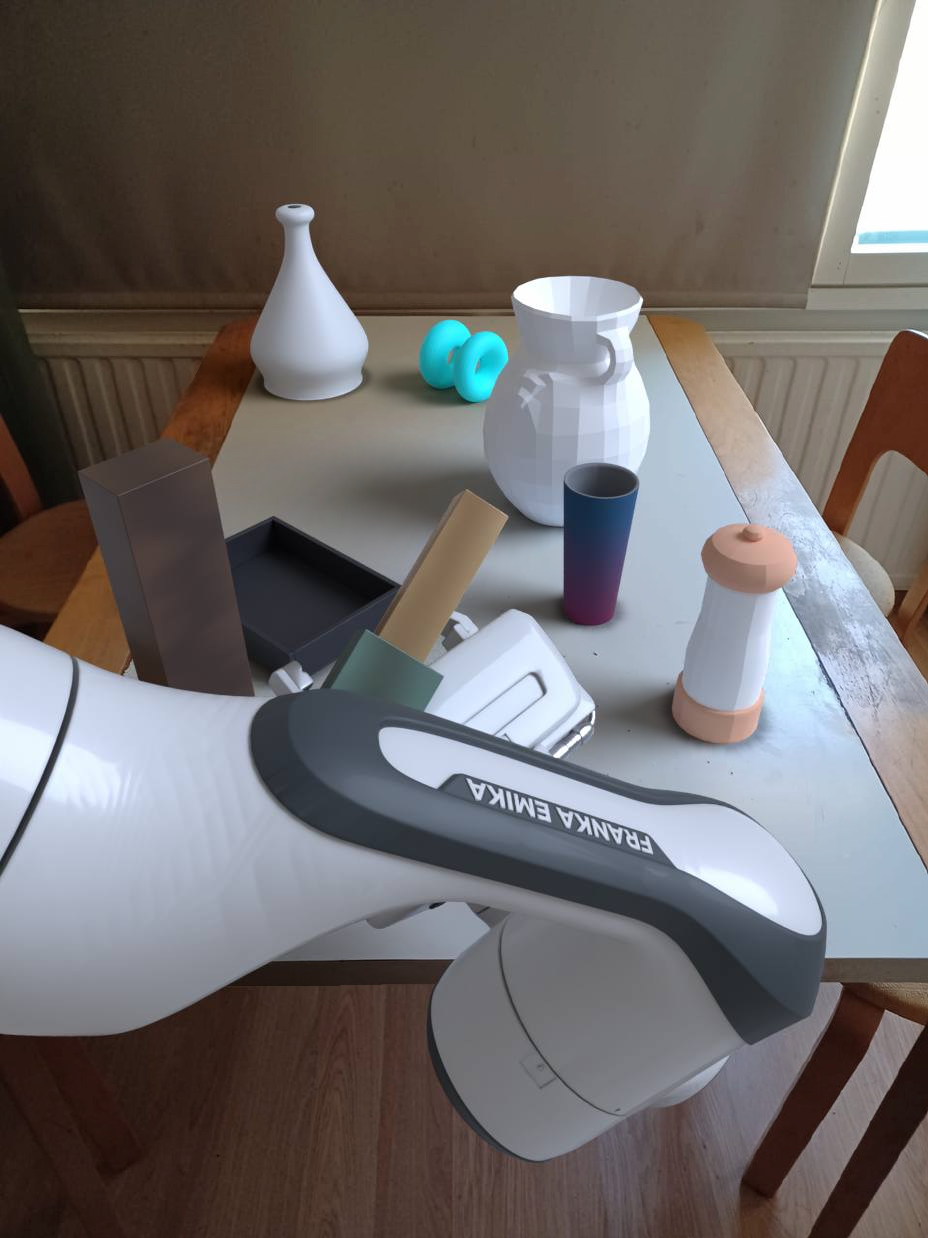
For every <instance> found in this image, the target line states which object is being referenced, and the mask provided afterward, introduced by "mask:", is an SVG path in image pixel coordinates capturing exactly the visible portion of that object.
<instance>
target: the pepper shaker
mask: <svg viewBox="0 0 928 1238" xmlns="http://www.w3.org/2000/svg"><path fill="white" fill-rule="evenodd" d="M700 557H701V563H702V566H703V569H704V571H705V573H706V574H707V578H706V583H705V588H704V593H703V598H702V602H701V606H700V607H701V608H700V612H699V614H698V617H697V619H696V622H695V624H694V628H693V629H692V632H691V633H690V634H691V635H690V637H689V640H688V642H687V646H686V649H685V655H684V662H683V669H682V671H680V673H678V675H677V678H676V681H675V687H674V693H673V698H672V704H671V711H672V717H673V719H674V720H675V722H676V723H677V726H679V727H680V728H681V729H682V730H683V731H685V732H686V733H687V734H689V736H693V737H694V738H696V739H698V740H701V741H704V742H708V743H712V744H722V745H723V744H725V745H726V744H728V745H729V744H733V743H740V742H742V741H744V740H746V739H748V738H749V737H751V736H752V735H753V734H754V732H755V731H756V730H757V727H758V724H759V719H760V717H761V712H762V709H763V704H764V699H765V691H764V688H763V687H764V682H765V679H766V676H767V671H768V669H769V666H770V659H771V657H770V656H771V636H772V622H773V618H774V614H775V610H776V606H777V602H778V597H779V592H780V589H782V588H783V587H784V586H786V585H787V583H788V582H790V580H791V579H792V578H793V576H794V575H795V574H796V572H797V567H798V557H797V554H796V551H795V549H794V547H793V544H792V543H791V541H790V540H789V539H788V538H787V537H786V536H785V535H784V534H783V533H781V532H779V531H777V530H775V529H773V528H770V527H767V526H764V525H761V524H754V523H744V522H743V523H742V522H741V523H739V522H738V523H731V524H727V525H725V526H722V527H719V528H717V530H715V531H714V532H713V533H712V534H710V535H709V537H708V538H706V540H705V542H704V544H703V546H702V548H701V551H700Z"/></svg>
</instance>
